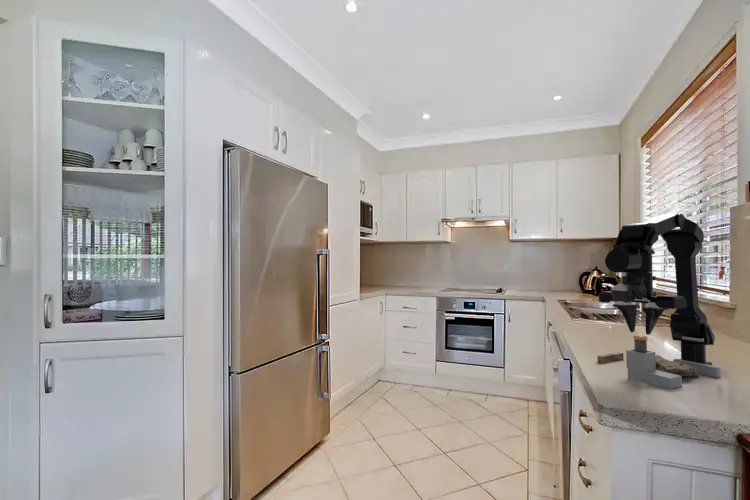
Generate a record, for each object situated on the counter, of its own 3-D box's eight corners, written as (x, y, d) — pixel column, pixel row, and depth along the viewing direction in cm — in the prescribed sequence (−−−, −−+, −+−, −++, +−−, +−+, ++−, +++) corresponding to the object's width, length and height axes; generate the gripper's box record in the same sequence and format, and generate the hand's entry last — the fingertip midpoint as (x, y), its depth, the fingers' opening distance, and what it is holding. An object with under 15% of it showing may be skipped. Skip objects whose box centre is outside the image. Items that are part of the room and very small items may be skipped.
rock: (710, 382, 98) (709, 364, 98) (661, 382, 98) (661, 364, 98) (678, 369, 109) (677, 353, 109) (634, 369, 109) (634, 353, 110)
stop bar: (619, 358, 121) (618, 352, 121) (623, 359, 119) (623, 353, 119) (597, 362, 116) (597, 355, 116) (602, 363, 115) (601, 356, 115)
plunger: (638, 357, 102) (637, 334, 102) (650, 359, 100) (650, 336, 100) (631, 358, 101) (630, 335, 101) (643, 360, 98) (642, 337, 98)
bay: (675, 367, 111) (675, 342, 111) (720, 377, 101) (719, 349, 102) (626, 377, 101) (626, 350, 101) (671, 389, 92) (670, 359, 92)
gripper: (584, 271, 106) (585, 330, 105) (659, 273, 89) (661, 343, 89) (611, 271, 111) (612, 327, 110) (687, 272, 94) (688, 338, 93)
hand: (640, 333), depth 100 cm, fingers open, 4 cm apart
